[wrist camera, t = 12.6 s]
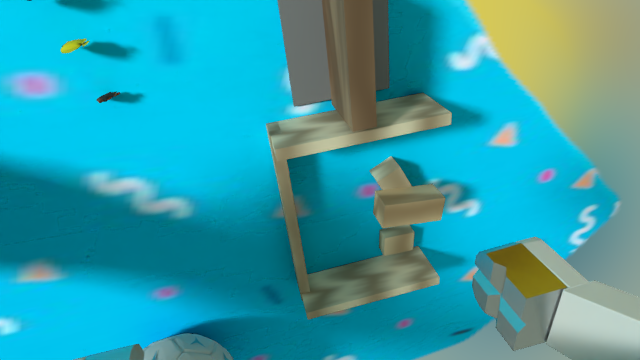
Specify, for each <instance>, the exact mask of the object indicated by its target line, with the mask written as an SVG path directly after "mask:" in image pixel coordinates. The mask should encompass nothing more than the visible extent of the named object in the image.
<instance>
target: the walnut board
mask: <svg viewBox="0 0 640 360" xmlns="http://www.w3.org/2000/svg"><path fill="white" fill-rule="evenodd" d="M322 7H323V18H324V28H325V38H326V48H327V58H328V68H329V79H330V89H331V99H332V105H333V106H334V108H335V109H336V110H337V111H338V113H339V114H340V115H341V117H342V118H343V119H344V121H345V122H346V123H347V125H348V126H349V127H350V129H351V130H352V131H353V132H355V131H360V130H365V129H369V128H374V127H377V116H376V87H375V58H374V29H373V0H322Z"/></svg>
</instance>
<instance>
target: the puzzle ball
mask: <svg viewBox="0 0 640 360" xmlns="http://www.w3.org/2000/svg"><path fill="white" fill-rule="evenodd" d="M143 351H144V353H145V354H144V360H233V358H232V356H231V354H230V353H229V352H228V351H227V350H226V349H225V348H224V347H222V346H221V345H220V344H218V343H217V342H216V341H214V340H212V339H210V338H207V337H204V336H201V335H198V334H190V333H185V334H179V335H175V336H171V337H167V338H165V339H162V340H159V341H156V342H153V343H152V344H150V345H149V346H147V347H146V348H144V349H143Z"/></svg>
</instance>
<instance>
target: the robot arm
mask: <svg viewBox="0 0 640 360" xmlns="http://www.w3.org/2000/svg"><path fill="white" fill-rule="evenodd" d="M475 264H476V266H477V267H478V268H479V270H478V271H477V272H476V273H475V275H474V276H473V283H472V287H473V291H474V295H475V298H476V300H477V302H478V304H479V305H480V307H481V308H482V310H483V311H484V312H485V313H486V314H488V315H490V316H492V317H494V318H496V328H497V330H498V331H499V332H500V334H501V335H502V337H503V338H504V339H505V341H506V342H507V343H508V345H509V346H510V347H511V349H512V350H513V351H514V350H518V349H522V348H526V347H529V346H533V345H536V344H540V343H544V342H546V344H547V345H549V346H550V347H552V348H554V349H555V350H557V351H559V352H560V353H562V354H563V355H565V356H567V357H568V358H570V359H572V360H640V297H637V296H634V295H632V294H629V293H627V292H624V291H621V290H619V289H616V288H613V287H611V286H608V285H606V284H602V283H600V282H598V281H595V280H594V281H591V282H589V281H588V280H586V279H585V278H584V277H583V276H582V275H581V274H579V272H577V271H576V270H575V269H574V268H573V267H572V266H571V265H569V264H568V263H567V262H566V261H565V260H564V259H563V258H562V257H560V256H559V255H558V254H557V253H556V252H555V251H554V250H553V249H551V248H550V247H549V246H548V245H547V244H546V243H545V242H544V241H542V240H541V239H539V238H537V237H532V238H528V239H525V240H521V241H517V242H512V243H509V244H505V245H502V246H498V247H495V248H491V249H488V250H484V251H480V252H479V253H478V254H477V255H476V259H475ZM144 354H145V353H144V351H143V350H142V348H141V347H140V345H139V344H135V345H131V346H126V347H122V348H118V349H114V350H110V351H106V352H101V353H97V354H93V355H89V356H86V357H82V358H78V359H74V360H144Z"/></svg>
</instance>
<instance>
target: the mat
mask: <svg viewBox="0 0 640 360" xmlns="http://www.w3.org/2000/svg"><path fill="white" fill-rule="evenodd" d="M278 6H279V13H280V19H281V26H282V32H283V39H284V45H285V52H286V58H287V65H288V71H289V78H290V84H291V91H292V97H293V104H294V106H299V105H304V104H310V103H315V102H320V101H325V100H330V99H331V89H330V79H329V68H328V58H327V48H326V38H325V28H324V18H323V7H322V0H278ZM373 29H374V58H375V87H376V91H377V90H382V89H387V88H389V39H388V0H373Z"/></svg>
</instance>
